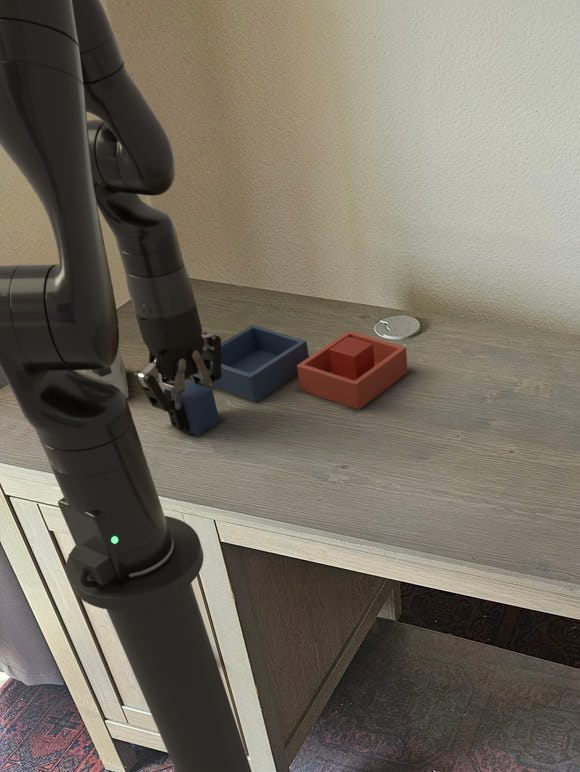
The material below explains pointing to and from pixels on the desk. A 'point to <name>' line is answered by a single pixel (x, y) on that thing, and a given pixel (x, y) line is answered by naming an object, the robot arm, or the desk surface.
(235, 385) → the blue bin
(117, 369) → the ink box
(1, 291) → the robot arm
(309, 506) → the desk surface
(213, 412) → the blue block
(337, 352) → the red block
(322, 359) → the red bin
